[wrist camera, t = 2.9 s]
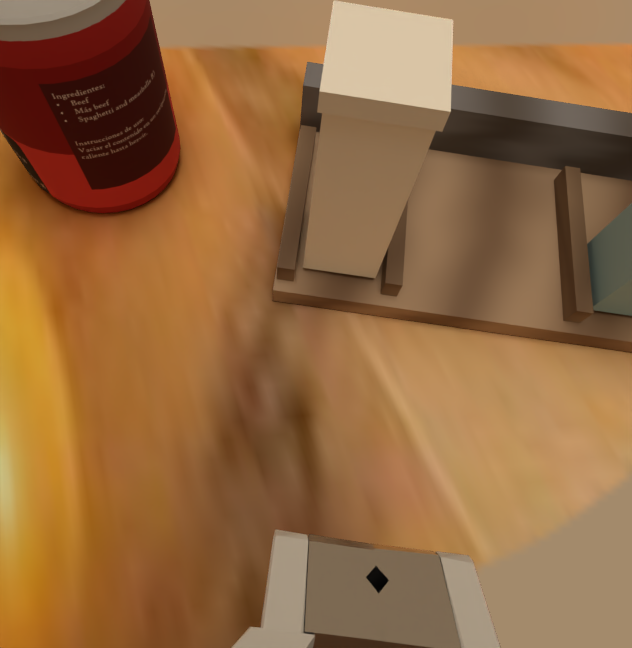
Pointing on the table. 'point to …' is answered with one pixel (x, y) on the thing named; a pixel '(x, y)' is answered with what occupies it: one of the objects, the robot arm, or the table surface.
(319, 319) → the table surface
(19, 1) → the canned food
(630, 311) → the light blue tall block
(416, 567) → the robot arm
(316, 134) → the board
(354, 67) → the cream tall block
